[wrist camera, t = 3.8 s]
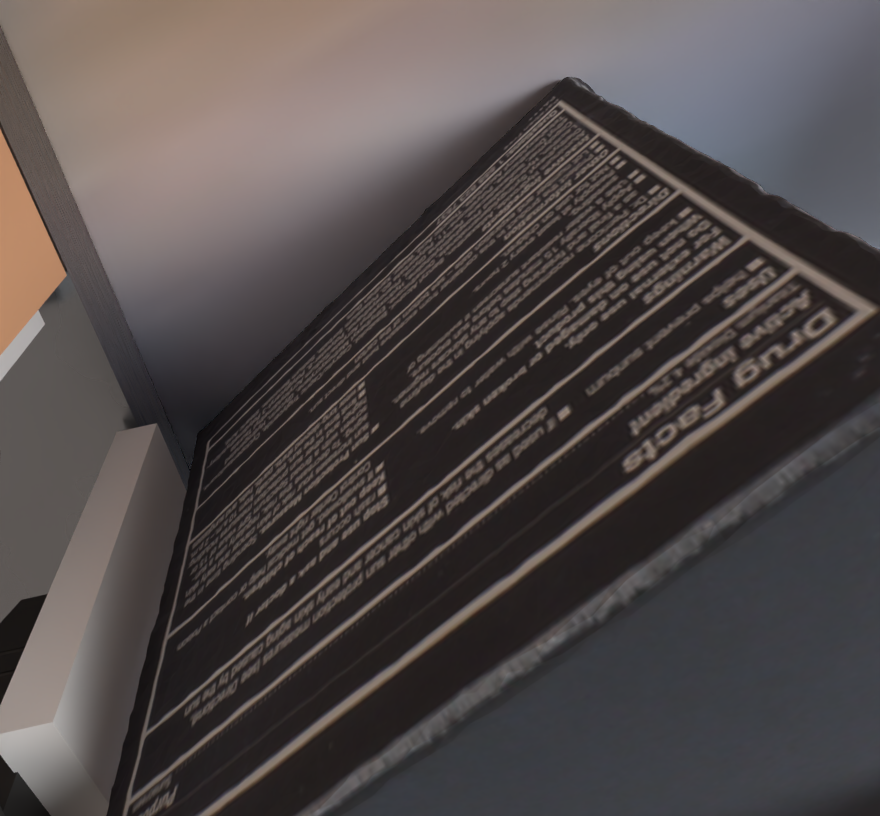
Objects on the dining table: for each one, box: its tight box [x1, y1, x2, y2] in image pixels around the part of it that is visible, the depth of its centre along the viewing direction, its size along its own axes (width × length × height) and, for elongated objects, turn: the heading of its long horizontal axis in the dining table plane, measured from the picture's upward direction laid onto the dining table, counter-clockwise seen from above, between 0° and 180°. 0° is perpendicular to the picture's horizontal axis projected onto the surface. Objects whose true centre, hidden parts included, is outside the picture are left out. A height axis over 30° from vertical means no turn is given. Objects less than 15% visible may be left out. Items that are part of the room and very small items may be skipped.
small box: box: [106, 77, 880, 816], centre depth 12 cm, size 11×6×10 cm, turn 133°
